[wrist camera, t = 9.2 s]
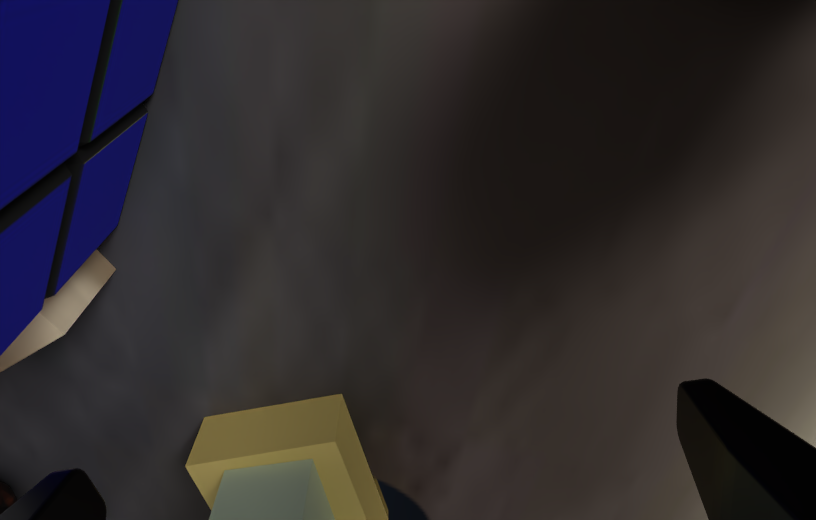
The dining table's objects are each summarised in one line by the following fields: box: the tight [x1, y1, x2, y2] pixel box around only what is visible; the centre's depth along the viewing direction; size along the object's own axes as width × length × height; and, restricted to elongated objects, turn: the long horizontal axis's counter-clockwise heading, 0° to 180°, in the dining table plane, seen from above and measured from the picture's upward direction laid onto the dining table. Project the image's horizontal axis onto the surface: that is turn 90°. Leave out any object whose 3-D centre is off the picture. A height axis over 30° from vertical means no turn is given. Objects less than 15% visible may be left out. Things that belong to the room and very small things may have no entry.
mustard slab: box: [185, 394, 388, 520], centre depth 27 cm, size 6×8×3 cm
